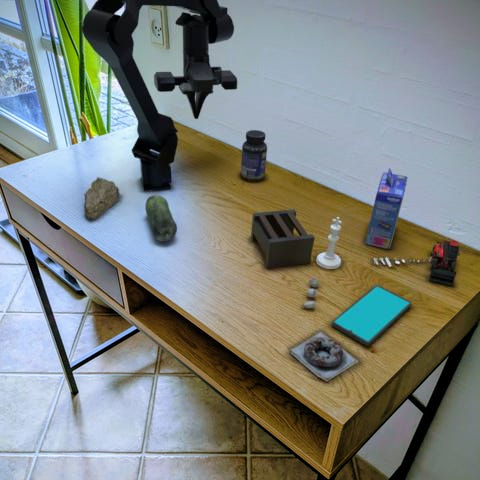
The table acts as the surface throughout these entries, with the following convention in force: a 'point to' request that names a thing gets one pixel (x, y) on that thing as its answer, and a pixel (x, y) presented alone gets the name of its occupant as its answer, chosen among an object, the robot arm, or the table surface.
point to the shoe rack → (281, 238)
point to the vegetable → (160, 218)
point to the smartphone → (371, 315)
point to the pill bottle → (254, 156)
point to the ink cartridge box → (386, 210)
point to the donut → (323, 356)
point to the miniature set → (395, 261)
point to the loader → (444, 262)
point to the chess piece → (331, 249)
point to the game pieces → (311, 293)
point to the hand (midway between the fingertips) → (196, 118)
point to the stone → (100, 197)
